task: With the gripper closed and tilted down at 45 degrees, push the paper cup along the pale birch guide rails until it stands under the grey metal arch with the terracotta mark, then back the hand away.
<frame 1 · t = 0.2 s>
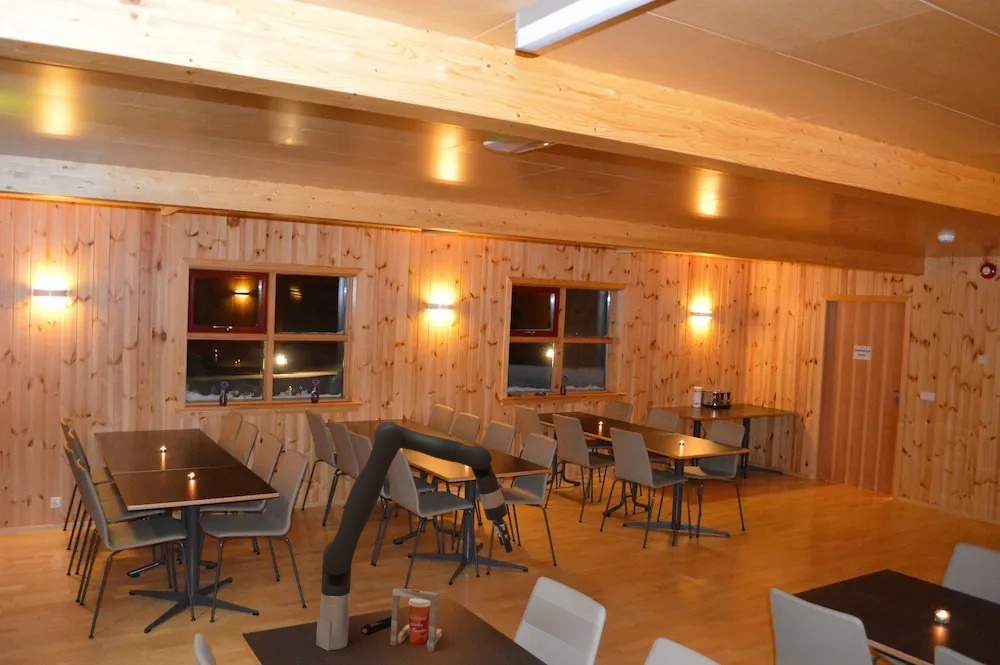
hand: (506, 548, 268), 31 cm above the table, tool tilted 20°, fingers open, 8 cm apart
electric trimmer: (378, 629, 272), on the table
guide arch: (415, 644, 260), on the table
paper cup: (418, 641, 263), on the table
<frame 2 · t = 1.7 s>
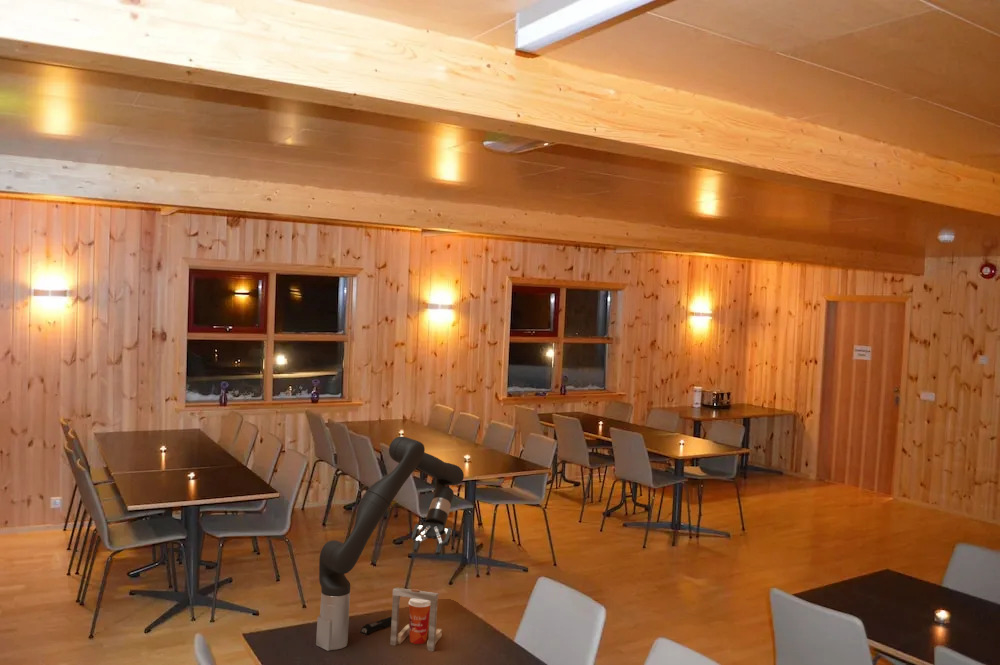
hand: (426, 553, 279), 25 cm above the table, tool tilted 45°, fingers open, 7 cm apart
nothing on the table moved.
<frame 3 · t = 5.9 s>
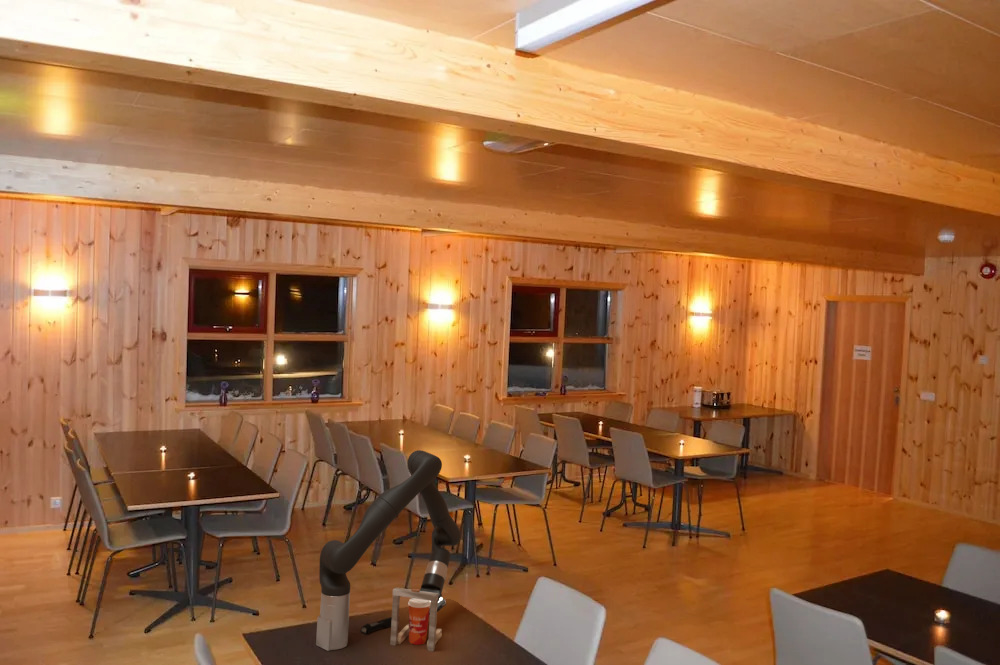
hand: (421, 624, 266), 4 cm above the table, tool tilted 45°, fingers closed
paper cup: (417, 642, 262), on the table, touching gripper
everything else where it was.
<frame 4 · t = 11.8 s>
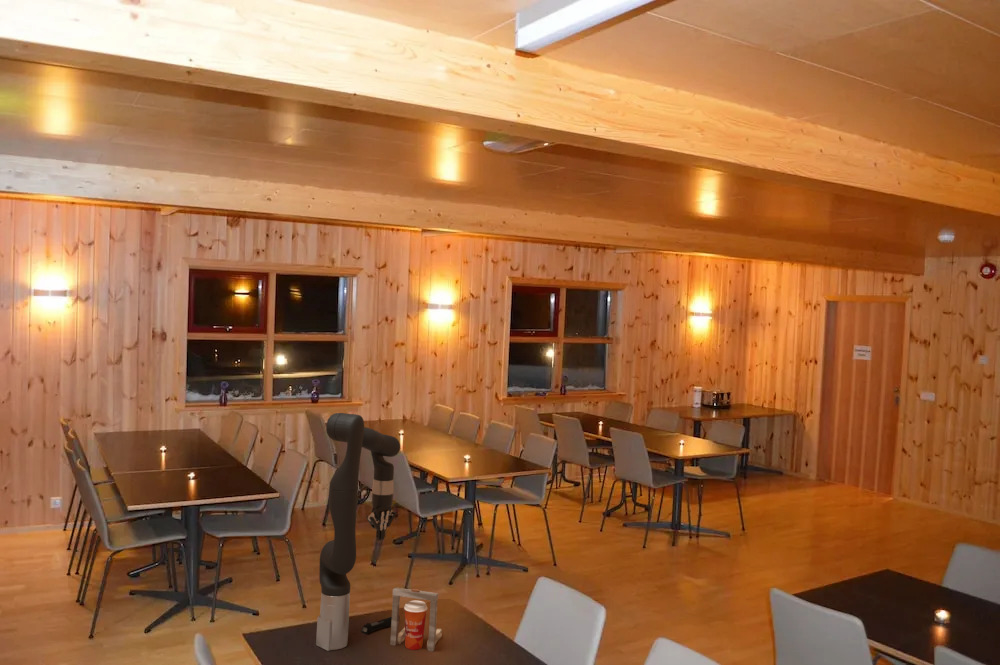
hand: (380, 539, 284), 27 cm above the table, tool pointing down, fingers closed
paper cup: (413, 647, 258), on the table
everything else where it was.
at the end: paper cup 0.8 cm from the target spot, on the table; paper cup tilted 0° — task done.
